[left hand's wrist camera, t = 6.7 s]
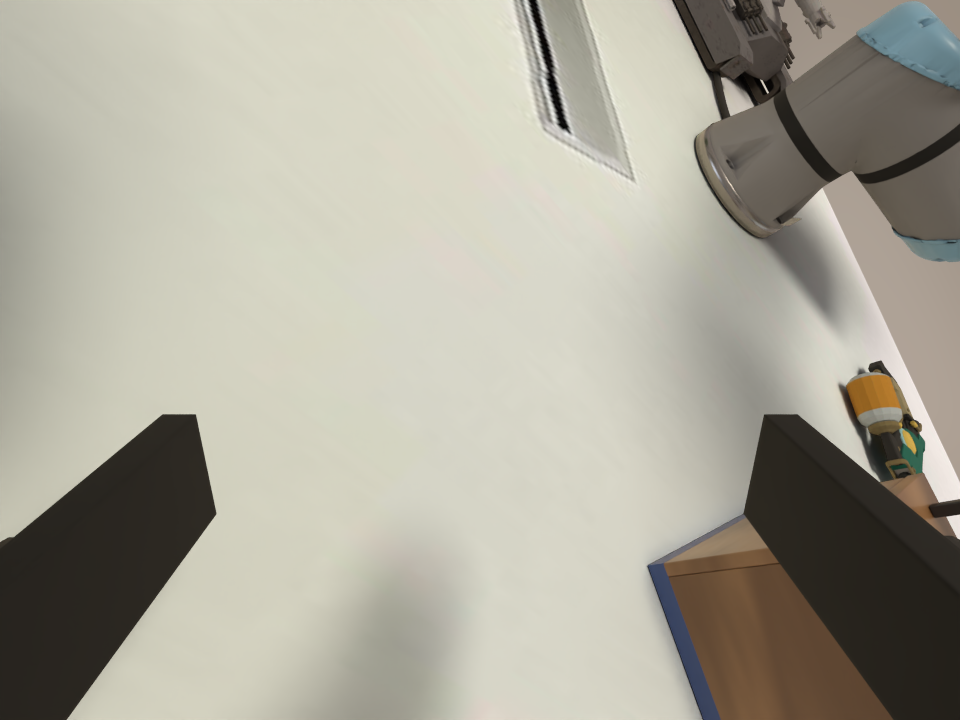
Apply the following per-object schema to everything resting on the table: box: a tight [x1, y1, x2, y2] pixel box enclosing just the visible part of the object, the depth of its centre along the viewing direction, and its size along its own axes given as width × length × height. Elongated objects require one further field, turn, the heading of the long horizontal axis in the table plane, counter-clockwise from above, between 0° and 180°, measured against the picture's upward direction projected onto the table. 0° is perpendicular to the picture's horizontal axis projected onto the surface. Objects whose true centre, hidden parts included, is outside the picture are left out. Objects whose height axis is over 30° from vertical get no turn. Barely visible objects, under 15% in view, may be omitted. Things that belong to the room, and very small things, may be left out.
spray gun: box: [846, 361, 925, 479], centre depth 63 cm, size 4×17×15 cm
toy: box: [674, 0, 835, 104], centre depth 85 cm, size 25×20×15 cm
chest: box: [648, 478, 904, 720], centre depth 31 cm, size 15×10×10 cm, turn 111°
